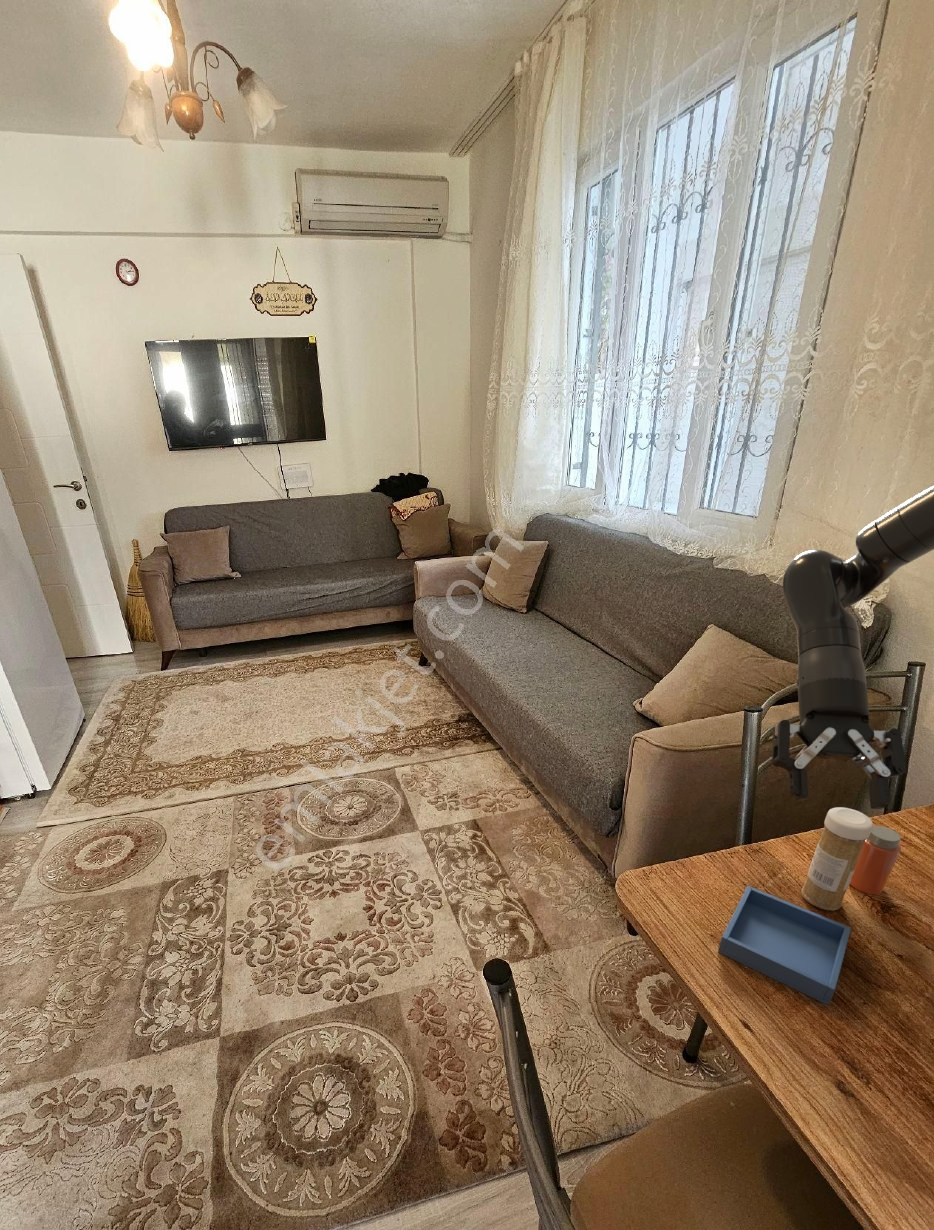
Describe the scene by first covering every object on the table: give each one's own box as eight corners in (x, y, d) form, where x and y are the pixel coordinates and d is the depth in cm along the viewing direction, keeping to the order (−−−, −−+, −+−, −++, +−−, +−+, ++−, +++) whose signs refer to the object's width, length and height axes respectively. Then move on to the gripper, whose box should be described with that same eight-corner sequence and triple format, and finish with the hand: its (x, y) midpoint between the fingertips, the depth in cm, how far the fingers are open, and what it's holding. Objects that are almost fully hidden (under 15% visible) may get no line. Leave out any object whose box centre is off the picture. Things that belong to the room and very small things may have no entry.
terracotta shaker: (884, 882, 79) (906, 831, 75) (881, 899, 76) (903, 847, 72) (849, 869, 81) (868, 820, 77) (844, 885, 79) (864, 834, 75)
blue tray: (845, 942, 70) (851, 927, 69) (828, 1006, 63) (835, 990, 62) (743, 899, 77) (747, 885, 76) (717, 952, 70) (721, 936, 69)
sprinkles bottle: (849, 908, 75) (883, 824, 69) (820, 915, 74) (852, 830, 68) (819, 884, 79) (849, 803, 73) (791, 890, 78) (819, 808, 72)
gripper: (783, 672, 77) (788, 791, 72) (909, 679, 73) (924, 805, 68) (762, 692, 84) (766, 802, 79) (877, 699, 80) (888, 816, 75)
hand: (839, 804), depth 74 cm, fingers open, 8 cm apart
